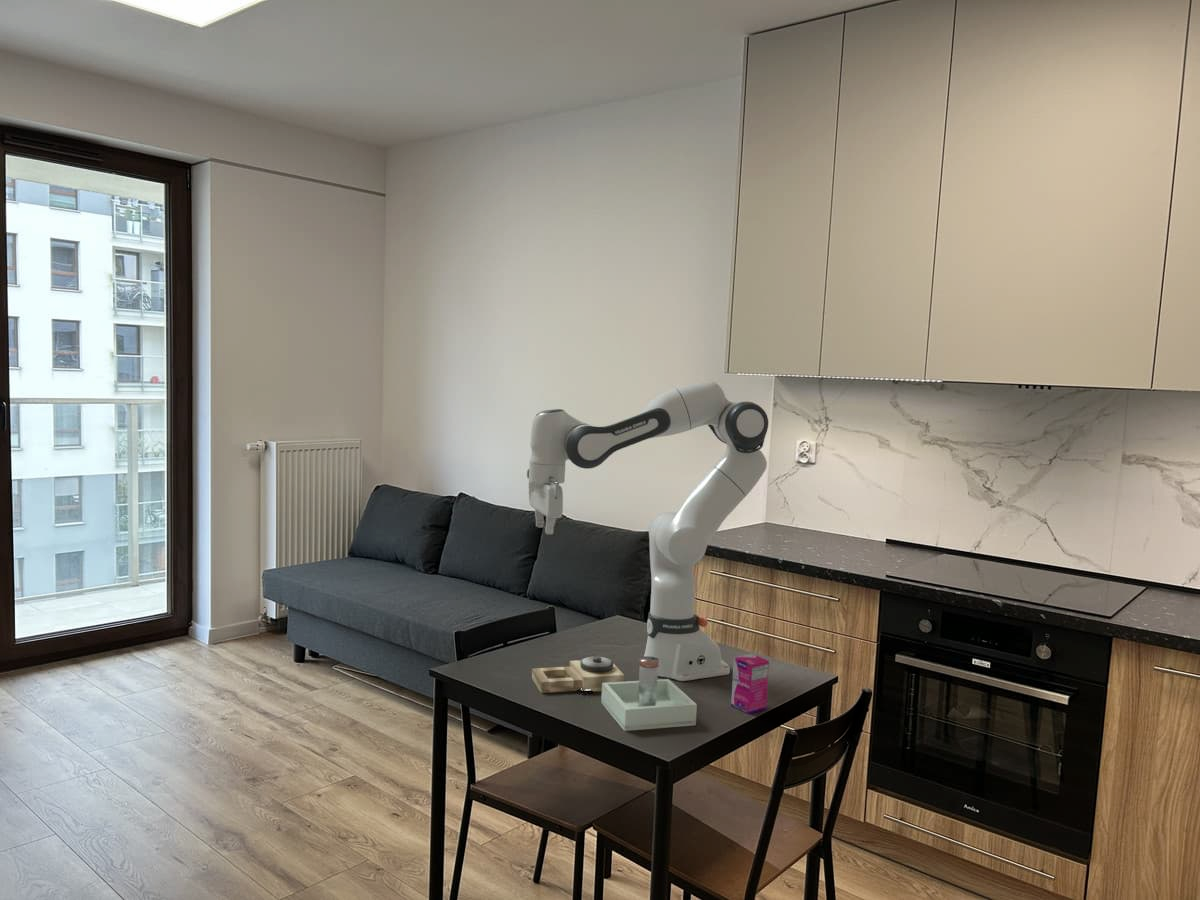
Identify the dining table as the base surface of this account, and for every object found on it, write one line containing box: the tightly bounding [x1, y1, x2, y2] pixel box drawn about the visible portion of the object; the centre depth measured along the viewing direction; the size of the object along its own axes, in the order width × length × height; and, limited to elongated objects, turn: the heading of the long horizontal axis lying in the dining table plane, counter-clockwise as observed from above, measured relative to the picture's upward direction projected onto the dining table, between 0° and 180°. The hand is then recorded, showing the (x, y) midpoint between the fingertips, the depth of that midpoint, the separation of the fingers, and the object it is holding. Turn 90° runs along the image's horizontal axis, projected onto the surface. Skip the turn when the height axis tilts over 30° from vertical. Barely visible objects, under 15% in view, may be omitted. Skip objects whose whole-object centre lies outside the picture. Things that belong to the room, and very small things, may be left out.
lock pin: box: [638, 656, 659, 707], centre depth 190 cm, size 4×4×11 cm
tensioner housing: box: [531, 656, 626, 694], centre depth 207 cm, size 20×12×6 cm, turn 107°
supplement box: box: [730, 653, 770, 715], centre depth 196 cm, size 6×6×12 cm
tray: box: [600, 678, 698, 732], centre depth 190 cm, size 16×16×4 cm
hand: (544, 530), depth 216 cm, fingers open, 8 cm apart
